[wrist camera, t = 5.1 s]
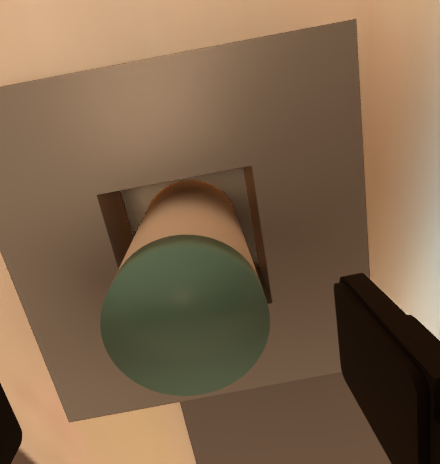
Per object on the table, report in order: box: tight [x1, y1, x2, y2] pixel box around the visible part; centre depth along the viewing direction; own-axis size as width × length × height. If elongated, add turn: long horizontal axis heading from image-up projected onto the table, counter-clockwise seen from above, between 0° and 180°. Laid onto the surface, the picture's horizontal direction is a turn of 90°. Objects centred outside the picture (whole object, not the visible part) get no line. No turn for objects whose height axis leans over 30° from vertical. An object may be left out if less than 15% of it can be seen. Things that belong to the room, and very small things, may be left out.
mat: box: [180, 372, 391, 464], centre depth 26 cm, size 18×16×1 cm
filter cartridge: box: [100, 180, 270, 396], centre depth 16 cm, size 5×5×10 cm
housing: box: [0, 19, 370, 422], centre depth 19 cm, size 16×16×4 cm
